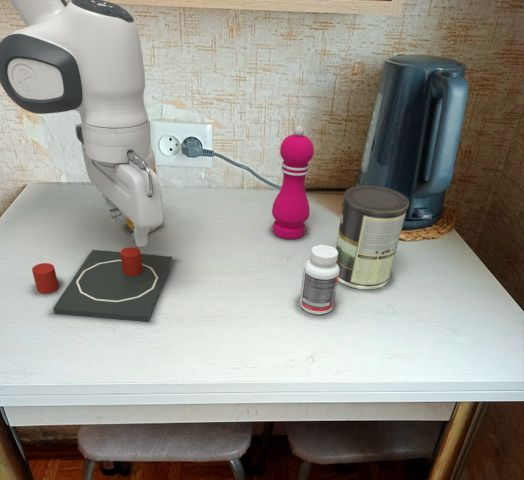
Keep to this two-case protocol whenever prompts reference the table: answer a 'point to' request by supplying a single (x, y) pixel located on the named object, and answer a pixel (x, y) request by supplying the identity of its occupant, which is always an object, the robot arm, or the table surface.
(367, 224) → the coffee can
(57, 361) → the table surface
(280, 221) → the pepper mill
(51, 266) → the dot
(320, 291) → the pill bottle
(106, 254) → the slate board
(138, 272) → the red cylinder
